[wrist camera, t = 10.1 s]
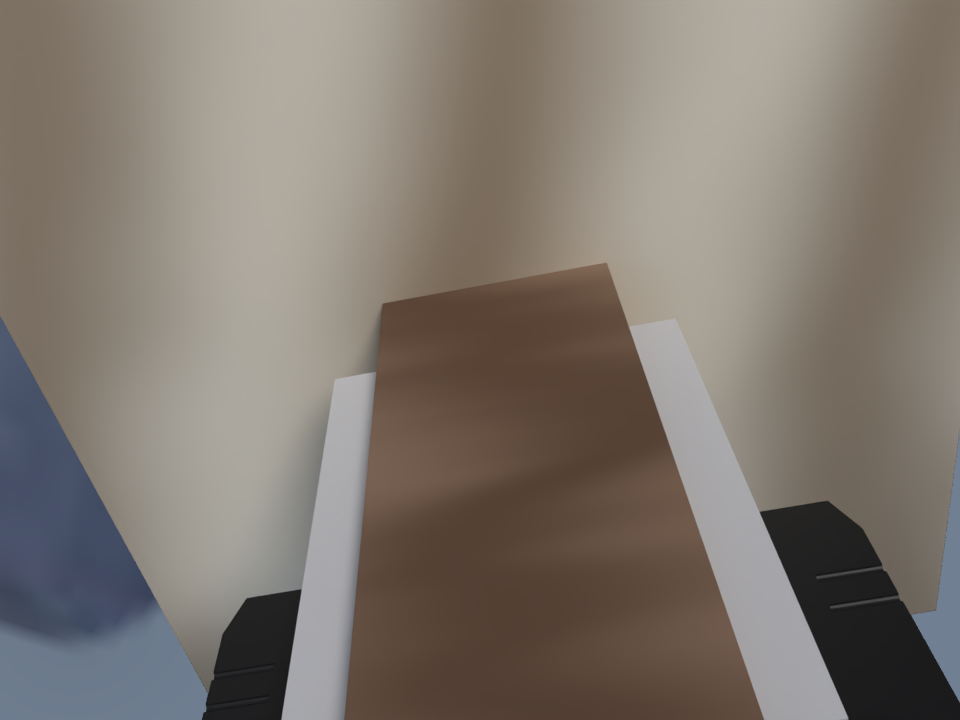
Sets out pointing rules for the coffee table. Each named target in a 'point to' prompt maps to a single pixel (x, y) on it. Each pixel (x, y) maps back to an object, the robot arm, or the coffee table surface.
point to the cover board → (462, 175)
